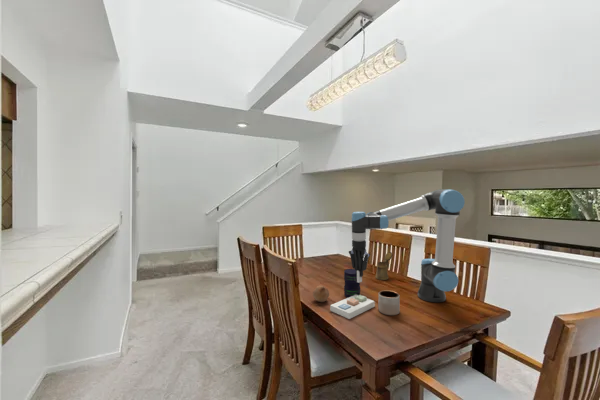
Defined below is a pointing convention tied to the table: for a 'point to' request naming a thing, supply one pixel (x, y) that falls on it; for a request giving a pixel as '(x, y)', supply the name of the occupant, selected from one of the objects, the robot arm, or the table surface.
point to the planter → (389, 302)
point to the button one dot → (344, 306)
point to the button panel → (352, 307)
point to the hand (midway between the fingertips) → (359, 281)
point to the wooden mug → (383, 268)
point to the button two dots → (361, 298)
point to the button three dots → (352, 302)
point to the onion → (321, 293)
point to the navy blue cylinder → (351, 283)
